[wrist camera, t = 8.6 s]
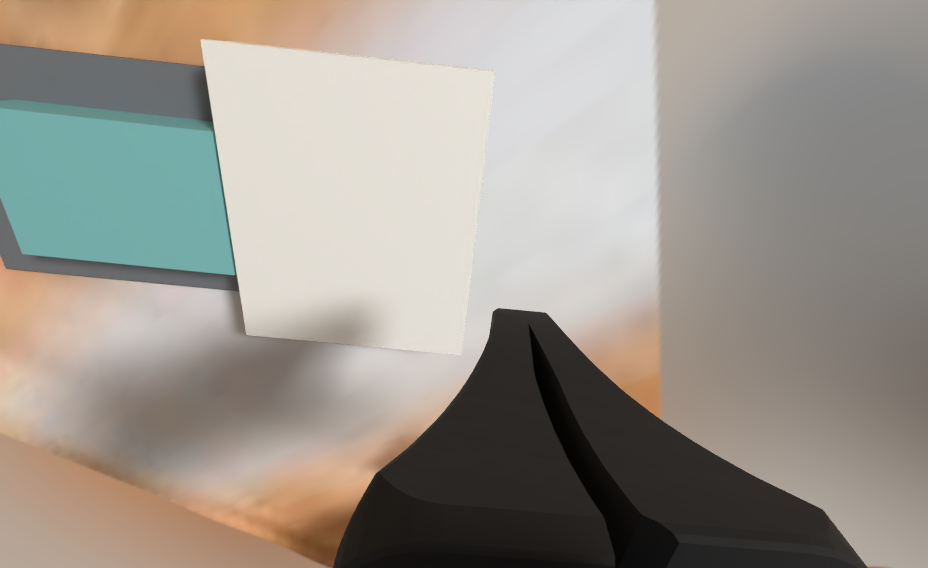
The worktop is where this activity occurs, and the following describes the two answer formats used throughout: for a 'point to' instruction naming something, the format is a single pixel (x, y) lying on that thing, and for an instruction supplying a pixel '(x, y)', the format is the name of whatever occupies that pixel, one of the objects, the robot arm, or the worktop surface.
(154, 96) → the mat
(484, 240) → the worktop surface
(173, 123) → the teal rectangular block
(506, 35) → the worktop surface
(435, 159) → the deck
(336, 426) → the worktop surface
